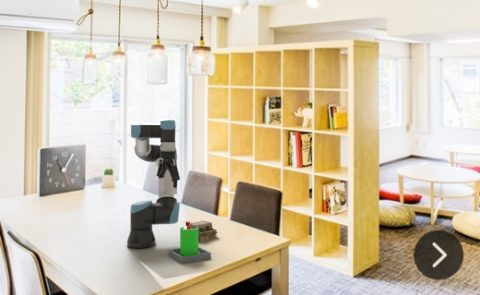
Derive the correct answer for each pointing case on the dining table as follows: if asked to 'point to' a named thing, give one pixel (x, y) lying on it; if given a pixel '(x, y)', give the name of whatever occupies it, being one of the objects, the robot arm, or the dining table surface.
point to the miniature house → (204, 230)
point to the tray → (200, 256)
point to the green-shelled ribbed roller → (188, 241)
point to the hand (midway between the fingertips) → (167, 192)
